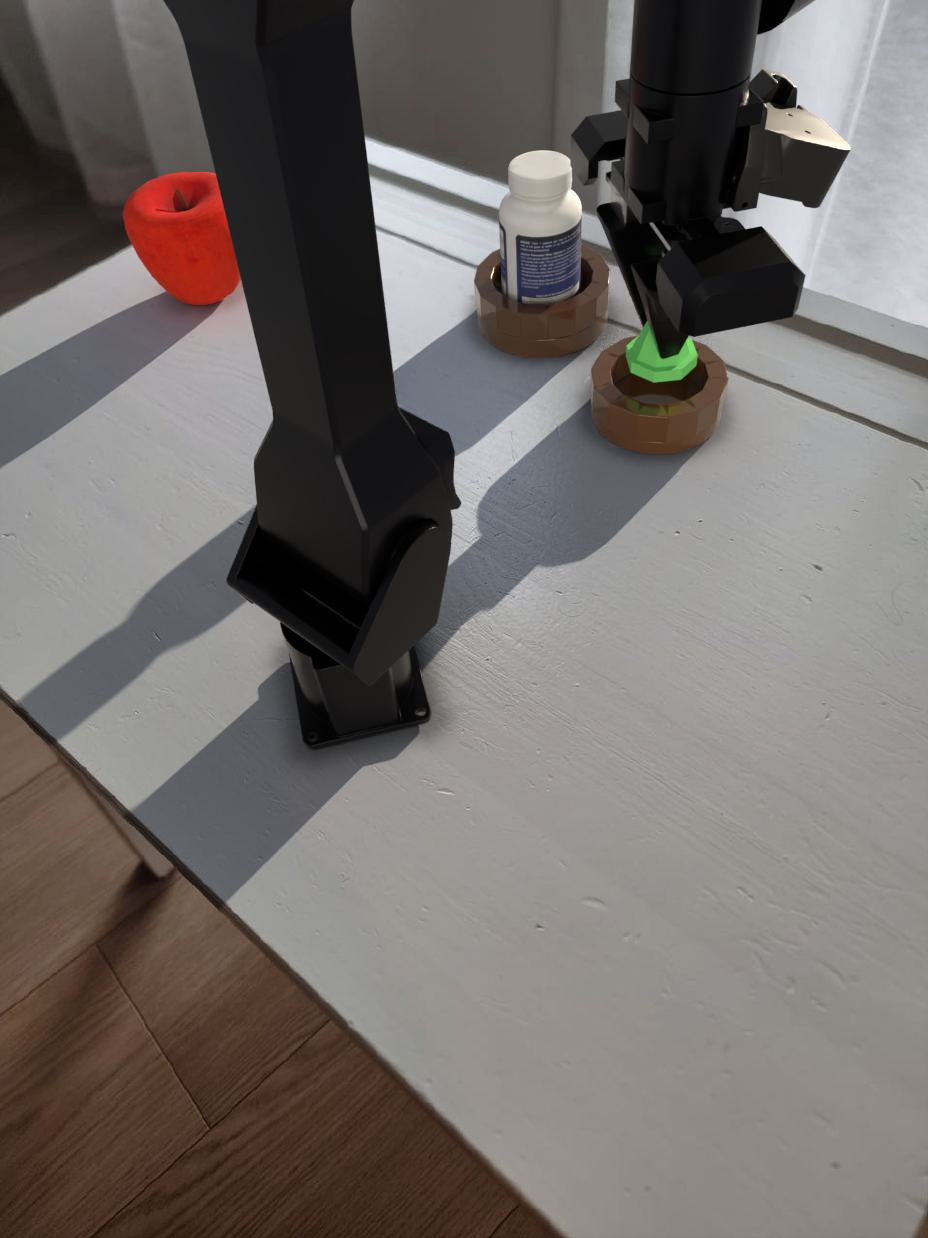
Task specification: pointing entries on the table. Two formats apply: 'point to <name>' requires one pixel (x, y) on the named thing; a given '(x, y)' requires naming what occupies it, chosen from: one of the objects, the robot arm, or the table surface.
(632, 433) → the small stand
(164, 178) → the apple
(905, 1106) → the table surface
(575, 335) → the stand
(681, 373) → the game piece
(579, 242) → the pill bottle
